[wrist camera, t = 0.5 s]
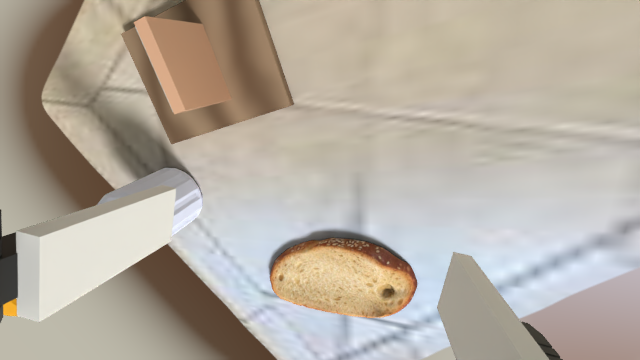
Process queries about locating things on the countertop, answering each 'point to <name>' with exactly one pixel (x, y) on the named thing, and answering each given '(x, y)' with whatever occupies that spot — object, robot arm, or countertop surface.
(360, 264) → the bread slice
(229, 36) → the walnut board
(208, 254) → the countertop surface
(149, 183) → the soap bottle
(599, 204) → the countertop surface
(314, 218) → the countertop surface
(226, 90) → the pale flat square block
